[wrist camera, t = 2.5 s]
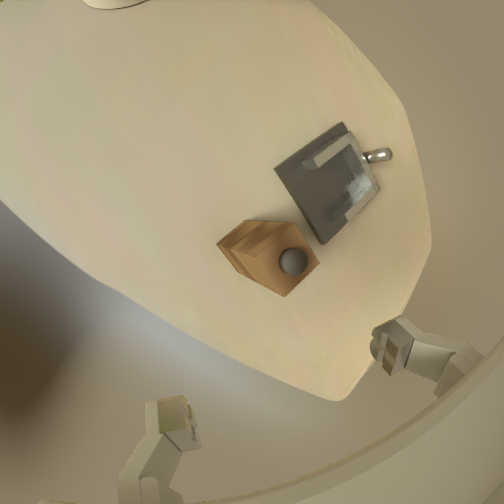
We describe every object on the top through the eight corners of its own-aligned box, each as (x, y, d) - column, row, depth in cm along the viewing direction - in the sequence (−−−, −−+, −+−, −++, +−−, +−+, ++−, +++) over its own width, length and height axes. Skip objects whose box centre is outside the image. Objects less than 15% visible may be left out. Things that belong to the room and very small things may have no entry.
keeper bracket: (320, 244, 43) (355, 249, 35) (273, 168, 38) (304, 158, 31) (374, 190, 46) (408, 188, 39) (338, 122, 42) (371, 111, 34)
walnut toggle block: (237, 272, 38) (290, 300, 25) (216, 244, 36) (261, 259, 23) (264, 248, 39) (327, 265, 26) (244, 220, 37) (301, 223, 24)
